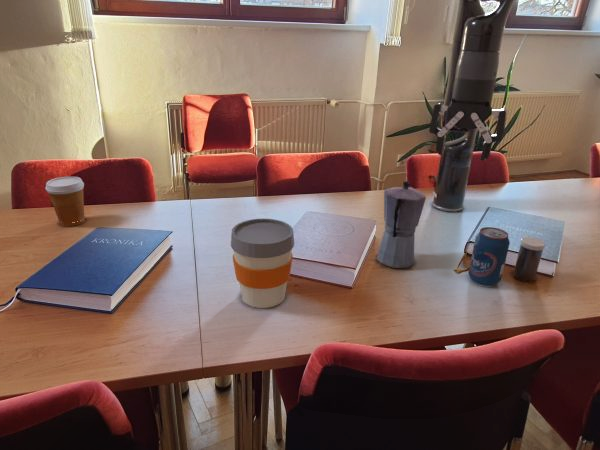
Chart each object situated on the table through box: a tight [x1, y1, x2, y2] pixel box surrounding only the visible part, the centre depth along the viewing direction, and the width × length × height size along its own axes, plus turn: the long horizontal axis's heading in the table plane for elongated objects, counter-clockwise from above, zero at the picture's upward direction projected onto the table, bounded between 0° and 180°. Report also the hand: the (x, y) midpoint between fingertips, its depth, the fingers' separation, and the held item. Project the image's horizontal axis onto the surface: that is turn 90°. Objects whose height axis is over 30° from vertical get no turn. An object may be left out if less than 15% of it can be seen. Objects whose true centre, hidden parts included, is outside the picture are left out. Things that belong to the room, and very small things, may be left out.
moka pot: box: [376, 180, 427, 269], centre depth 103 cm, size 10×15×20 cm, turn 161°
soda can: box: [468, 226, 511, 288], centre depth 98 cm, size 7×7×12 cm
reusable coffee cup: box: [230, 218, 295, 309], centre depth 89 cm, size 13×13×15 cm
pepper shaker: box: [512, 236, 546, 282], centre depth 100 cm, size 5×5×9 cm
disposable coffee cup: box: [44, 176, 86, 227], centre depth 122 cm, size 10×10×12 cm
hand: (461, 157), depth 93 cm, fingers open, 8 cm apart
